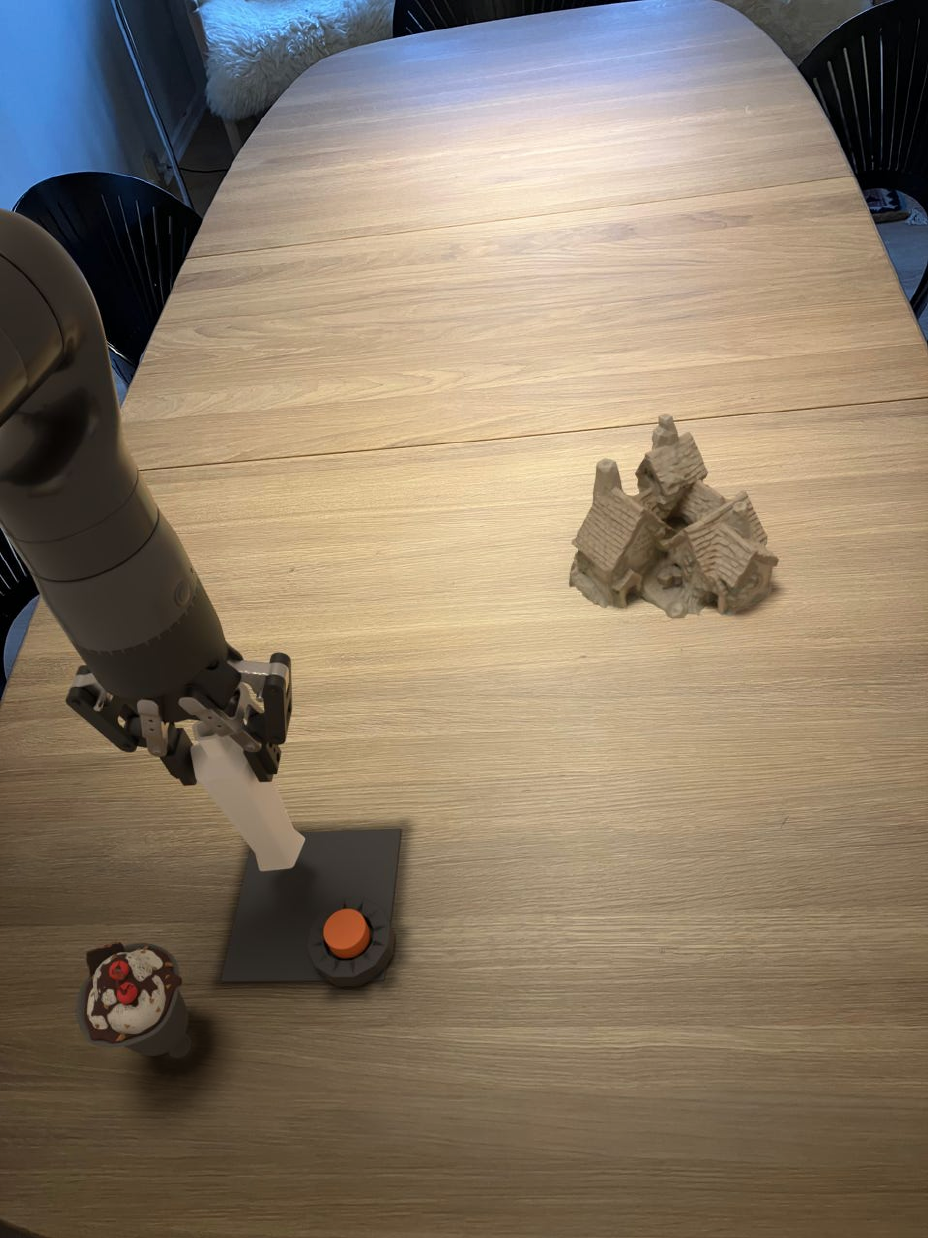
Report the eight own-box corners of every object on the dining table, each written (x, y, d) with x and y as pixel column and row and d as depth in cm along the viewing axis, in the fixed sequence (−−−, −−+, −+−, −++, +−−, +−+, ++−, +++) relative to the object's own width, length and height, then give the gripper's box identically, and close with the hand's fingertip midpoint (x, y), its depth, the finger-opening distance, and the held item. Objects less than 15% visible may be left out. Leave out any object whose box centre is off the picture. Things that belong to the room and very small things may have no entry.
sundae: (230, 1095, 69) (143, 1006, 58) (133, 1109, 70) (29, 1023, 59) (237, 999, 74) (157, 900, 63) (146, 1012, 74) (51, 917, 63)
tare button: (325, 959, 72) (320, 949, 71) (332, 919, 74) (326, 909, 73) (367, 958, 71) (362, 949, 70) (373, 918, 73) (367, 908, 72)
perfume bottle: (234, 860, 75) (156, 741, 64) (273, 815, 77) (204, 691, 67) (280, 889, 73) (207, 770, 62) (319, 841, 75) (255, 718, 64)
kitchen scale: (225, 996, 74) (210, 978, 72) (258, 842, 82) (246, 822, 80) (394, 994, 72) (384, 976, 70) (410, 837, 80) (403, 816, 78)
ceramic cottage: (550, 562, 98) (542, 439, 86) (702, 504, 101) (714, 378, 89) (628, 680, 88) (632, 559, 77) (794, 613, 91) (822, 487, 79)
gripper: (267, 535, 57) (344, 721, 69) (29, 555, 59) (144, 731, 71) (239, 638, 52) (327, 818, 64) (-20, 655, 54) (113, 826, 66)
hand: (230, 771), depth 68 cm, fingers closed on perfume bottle, 4 cm apart
